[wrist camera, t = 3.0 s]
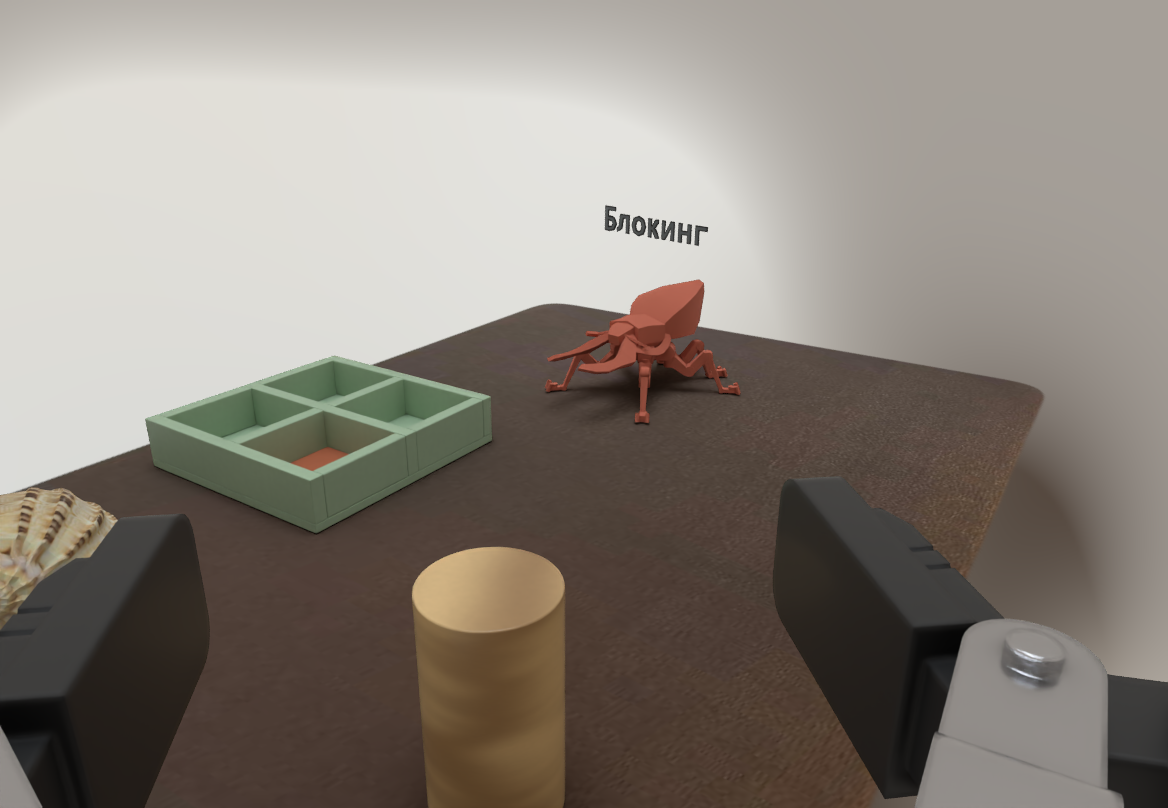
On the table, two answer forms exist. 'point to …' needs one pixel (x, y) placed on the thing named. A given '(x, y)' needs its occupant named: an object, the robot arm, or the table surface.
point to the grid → (320, 438)
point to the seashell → (43, 539)
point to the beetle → (650, 327)
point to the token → (492, 679)
